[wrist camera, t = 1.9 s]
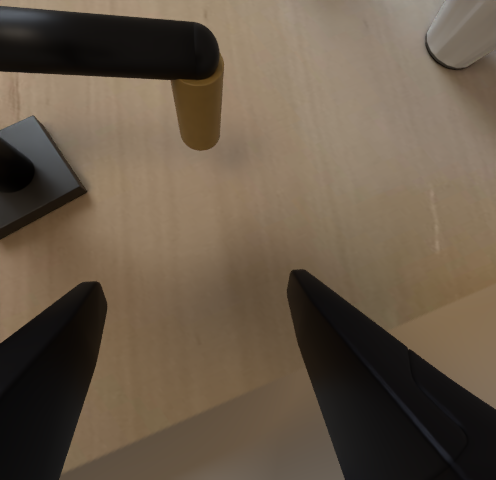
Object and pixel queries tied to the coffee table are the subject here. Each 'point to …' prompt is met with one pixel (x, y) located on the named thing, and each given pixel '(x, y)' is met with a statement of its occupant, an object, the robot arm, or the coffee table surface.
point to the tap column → (32, 175)
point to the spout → (123, 57)
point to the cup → (462, 32)
